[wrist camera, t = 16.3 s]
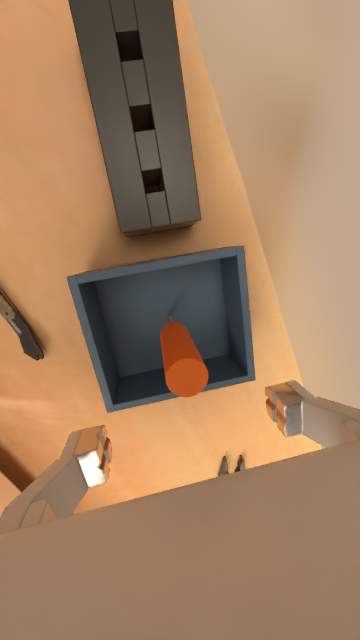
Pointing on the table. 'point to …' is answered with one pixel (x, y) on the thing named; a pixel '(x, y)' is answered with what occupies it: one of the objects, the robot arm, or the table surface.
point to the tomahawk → (20, 328)
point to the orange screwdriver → (181, 360)
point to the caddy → (139, 110)
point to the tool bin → (149, 318)
